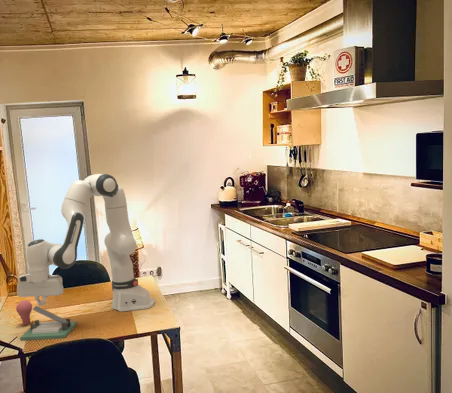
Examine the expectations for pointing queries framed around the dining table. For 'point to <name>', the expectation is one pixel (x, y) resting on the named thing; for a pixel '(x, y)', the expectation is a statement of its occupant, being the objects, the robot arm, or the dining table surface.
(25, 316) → the light bulb
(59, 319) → the steel strap
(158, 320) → the dining table surface
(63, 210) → the robot arm
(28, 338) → the heat sink board
